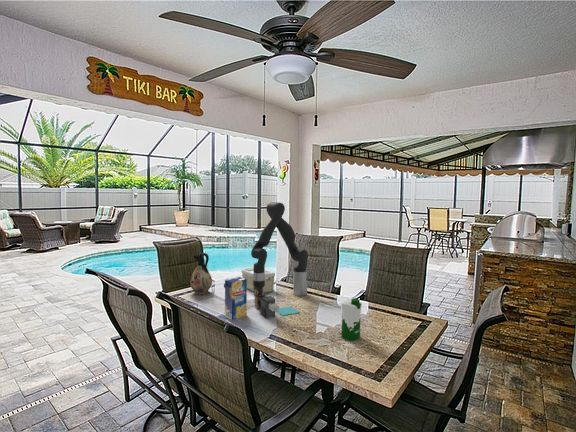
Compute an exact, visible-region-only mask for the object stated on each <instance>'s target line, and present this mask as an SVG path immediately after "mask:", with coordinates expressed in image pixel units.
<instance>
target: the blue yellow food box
mask: <svg viewBox="0 0 576 432" xmlns="http://www.w3.org/2000/svg"><path fill="white" fill-rule="evenodd" d="M224 284H225V288H224V317H225V318H226V319H229V320H231V321H233V319H234V320H236V319H238V318H239V319H240V318H241V317H244V316H247V314H248V313H247V310H248V309H247V307H248V306H247V300H248V299H247V297H248V296H247V293H248V291H247V290H248V289H247V279H245V278H243V277H240V276H238V277H237V276H236V277H234V278H229V279H224Z"/></svg>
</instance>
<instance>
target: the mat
mask: <svg viewBox="0 0 576 432" xmlns="http://www.w3.org/2000/svg"><path fill="white" fill-rule="evenodd" d="M275 313H278V314H279V315H280V316H281V317H286V316H289V315H296V314H300V313H301V312H300V311H299V310H297V308H295V307H293V306H292V305H289V306H282V307H279V310H278V311H275Z"/></svg>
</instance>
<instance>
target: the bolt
mask: <svg viewBox="0 0 576 432" xmlns="http://www.w3.org/2000/svg"><path fill="white" fill-rule="evenodd" d="M267 307H268V308H269V309H270V310H272V311H275V312H276V311H278V310H279V308H280V305H278V304H277V303H276V302H275V303H274V302H267Z"/></svg>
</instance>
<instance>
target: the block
mask: <svg viewBox="0 0 576 432" xmlns="http://www.w3.org/2000/svg"><path fill="white" fill-rule="evenodd" d="M254 307H255V308H256V309H261V307H259V298H258V296H257V297H254Z"/></svg>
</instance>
